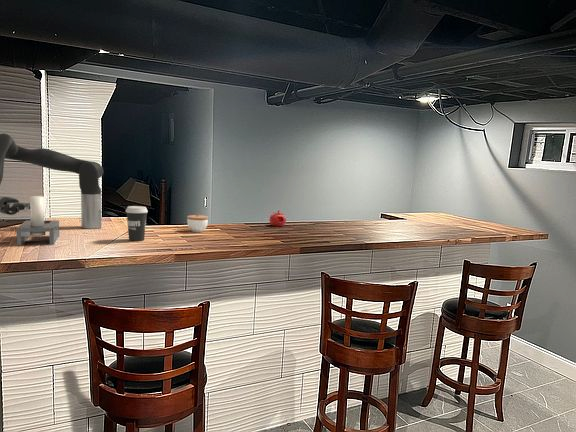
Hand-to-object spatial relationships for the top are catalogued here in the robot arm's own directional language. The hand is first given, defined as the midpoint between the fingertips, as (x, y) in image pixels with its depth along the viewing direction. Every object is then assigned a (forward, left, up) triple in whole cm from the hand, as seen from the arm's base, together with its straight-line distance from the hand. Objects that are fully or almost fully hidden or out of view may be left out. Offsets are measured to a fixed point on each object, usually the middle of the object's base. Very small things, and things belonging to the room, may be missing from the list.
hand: (28, 209), depth 182 cm
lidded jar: (-74, -15, -14) cm, 77 cm away
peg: (-4, +5, -10) cm, 12 cm away
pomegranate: (-124, -29, -14) cm, 128 cm away
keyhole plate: (-4, +1, -13) cm, 14 cm away
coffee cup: (-43, +5, -14) cm, 45 cm away
